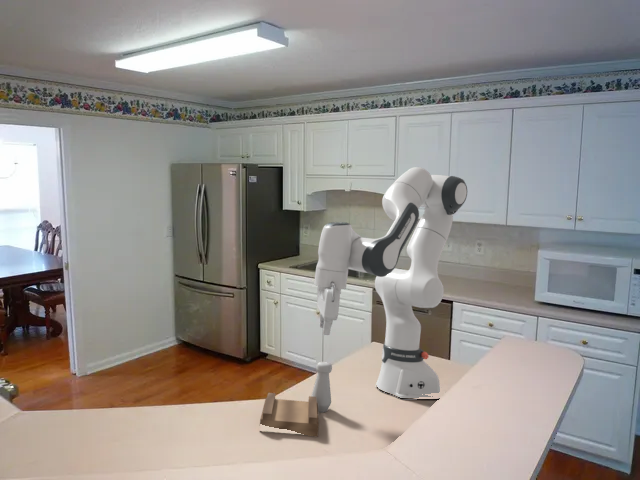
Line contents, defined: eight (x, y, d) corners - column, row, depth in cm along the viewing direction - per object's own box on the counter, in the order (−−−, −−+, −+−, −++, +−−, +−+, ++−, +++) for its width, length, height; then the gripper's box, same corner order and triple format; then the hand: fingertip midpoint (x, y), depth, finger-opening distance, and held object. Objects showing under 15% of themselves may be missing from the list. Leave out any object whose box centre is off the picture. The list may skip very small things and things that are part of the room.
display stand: (316, 413, 125) (318, 397, 125) (317, 436, 111) (319, 418, 111) (264, 409, 125) (266, 392, 125) (259, 431, 111) (260, 412, 111)
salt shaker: (328, 415, 125) (333, 367, 125) (307, 411, 126) (312, 364, 126) (331, 407, 131) (336, 361, 130) (312, 404, 132) (316, 358, 131)
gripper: (347, 285, 117) (340, 340, 117) (337, 278, 137) (331, 325, 137) (322, 282, 116) (315, 337, 116) (316, 276, 137) (310, 322, 136)
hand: (324, 330), depth 127 cm, fingers open, 8 cm apart
